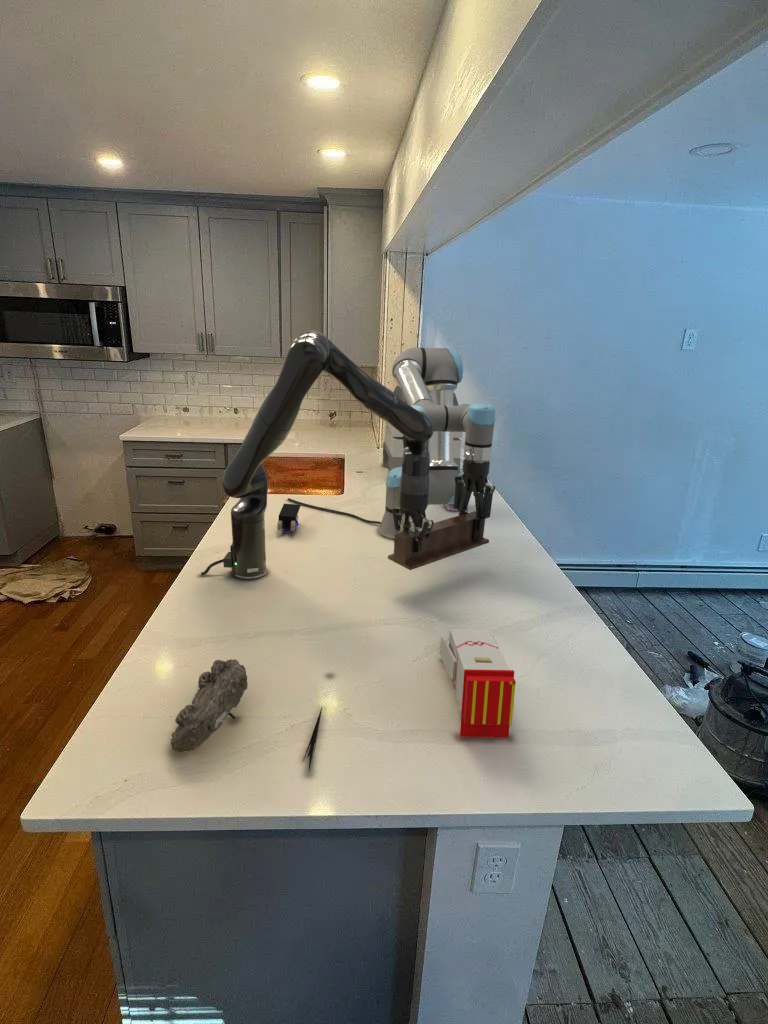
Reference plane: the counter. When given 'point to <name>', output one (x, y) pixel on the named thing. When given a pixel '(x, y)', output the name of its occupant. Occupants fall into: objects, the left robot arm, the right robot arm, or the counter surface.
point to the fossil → (210, 704)
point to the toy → (479, 682)
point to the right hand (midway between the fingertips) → (469, 535)
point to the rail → (437, 542)
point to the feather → (313, 740)
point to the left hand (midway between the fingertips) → (410, 549)
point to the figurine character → (288, 518)
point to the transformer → (395, 441)
